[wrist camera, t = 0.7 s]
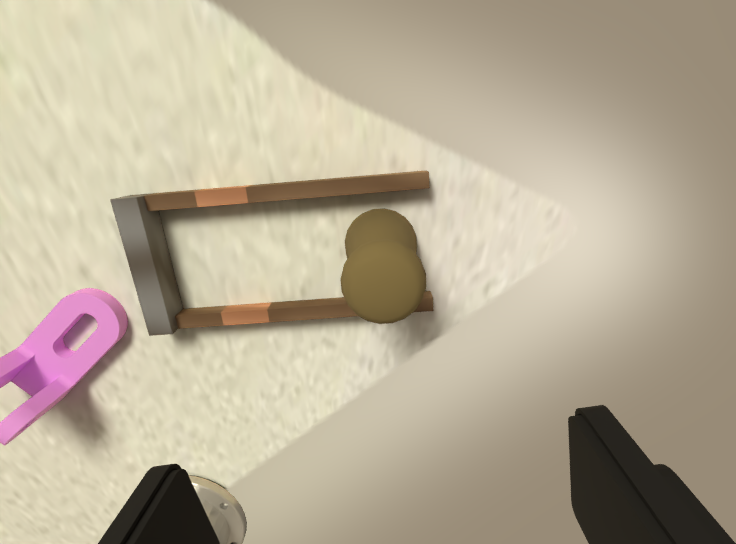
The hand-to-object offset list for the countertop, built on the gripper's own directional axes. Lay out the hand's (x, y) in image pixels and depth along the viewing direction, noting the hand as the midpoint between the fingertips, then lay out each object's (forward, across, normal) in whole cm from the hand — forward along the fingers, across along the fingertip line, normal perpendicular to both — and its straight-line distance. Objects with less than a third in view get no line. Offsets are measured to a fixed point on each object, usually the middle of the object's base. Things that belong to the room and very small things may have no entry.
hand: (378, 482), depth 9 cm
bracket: (+24, +30, +4) cm, 38 cm away
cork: (+24, 0, +1) cm, 25 cm away
